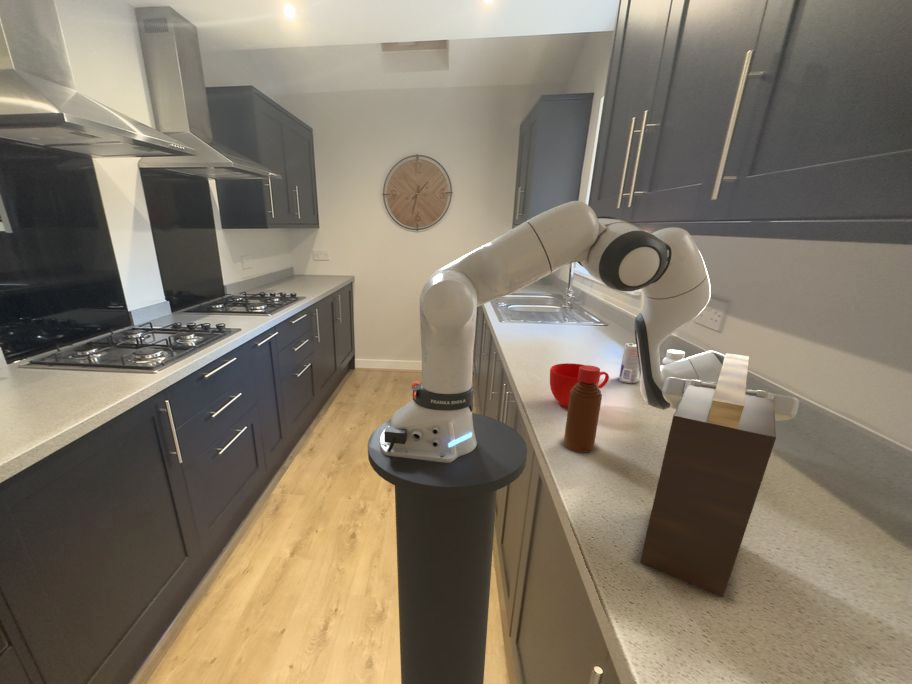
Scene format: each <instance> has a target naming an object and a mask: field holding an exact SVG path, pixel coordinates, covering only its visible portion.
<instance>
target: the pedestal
mask: <svg viewBox="0 0 912 684" xmlns="http://www.w3.org/2000/svg"><path fill="white" fill-rule="evenodd" d="M714 393H715V390H714V389H709V388H703V387H697V386H691V385H687V388H686V390H685V392H684V394H683V396H682V398H681V400H680V403H679V405H678V407H677V409H676V410H674V414H673V416H672V420H671V424H670V428H669V432H668V438H667V442H666V446H665V450H664V455H663V459H662V464H661V467H660V472H659V476H658V481H657V485H656V490H655V494H654V498H653V503H652V508H651V512H650V515H649V519H648V520H649V521H648V525H647V529H646V534H645V538H644V542H643V546H642V551H641V556H640V559H639V562H640V563H641V564H644V565H645V566H649V567H651V568H653V569H655V570H658V571H660V572H663V573H665V574H668V575H670V576H673V577H675V578H677V579H679V580H682V581H685V582H687V583H689V584H692V585H694V586H696V587H698V588H701V589H703V590H706V591H709V592H711V593H714V594H715V595H717V596H721V597H724V596H725V593H726V591H727V587H728V585H729V581H730V579H731V575H732V572H733V570H734V568H735V567H734V566H735V564H736V560H737V557H738V555H739V552H740V548H741V545H742V542H743V539H744V537H745V533H746V531H747V527H748V524H749V521H750V518H751V515H752V512H753V509H754V506H755V503H756V500H757V497H758V494H759V491H760V489H761V486H762V482H763V479H764V476H765V473H766V470H767V467H768V464H769V461H770V459H771V456H772V455H771V454H772V452H773V449H774V446H775V443H776V440H777V429H776V427H777V426H776V420H775V411H774V400H773V399H767V398H761V397H755V396H749V395H745V403H744V409H743V412H742V415H741V419H740V422H739V426H738V429H735V428H730V427H726V426H721V425H716V424H711V423H707V420H708V416H709V412H710V408H711V404H712V400H713V397H714Z"/></svg>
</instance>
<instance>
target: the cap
mask: <svg viewBox="0 0 912 684" xmlns="http://www.w3.org/2000/svg"><path fill="white" fill-rule="evenodd" d="M582 365H583V366H580V367H579V372H578V380H579V381H580V382H583V383H590V384H592V383H597V382H598V380H599V374H600V372H601V369H600V367H598V366H595V365H589V364H587V365H586V364H582ZM599 381H600V380H599Z"/></svg>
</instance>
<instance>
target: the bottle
mask: <svg viewBox="0 0 912 684" xmlns="http://www.w3.org/2000/svg"><path fill="white" fill-rule="evenodd" d="M598 385H599V384H598ZM598 385H597V384H596V383H592V384H590V383H583V382H580V381H579V382H578V383H577V384H576V385H575V386H574V387H572V390H571V391H570V398H569V405H568V407H567V413H566V420H565V421H566V422H565V430H564V436H563V446H564V447H565V448H567V449H568V450H570V451H574V452H577V453H589V452H592V451H593V450H594V448H595V443H596V436H597V430H598V424H599V417H600V411H601V404H602V397H603V393H602V390H601V388H600V389H599V387H598Z"/></svg>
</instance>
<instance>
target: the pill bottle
mask: <svg viewBox="0 0 912 684" xmlns="http://www.w3.org/2000/svg"><path fill="white" fill-rule="evenodd" d="M685 355H686V352H685V351H683V350H679V349H667V350H666V353H665V356H666V357H663V358H662V361H661V364H660V366H662V365H666V364H670V363H673V362H676V361H679V360H682V359H685Z"/></svg>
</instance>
